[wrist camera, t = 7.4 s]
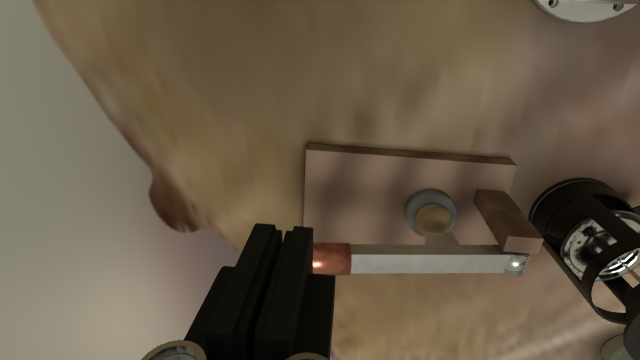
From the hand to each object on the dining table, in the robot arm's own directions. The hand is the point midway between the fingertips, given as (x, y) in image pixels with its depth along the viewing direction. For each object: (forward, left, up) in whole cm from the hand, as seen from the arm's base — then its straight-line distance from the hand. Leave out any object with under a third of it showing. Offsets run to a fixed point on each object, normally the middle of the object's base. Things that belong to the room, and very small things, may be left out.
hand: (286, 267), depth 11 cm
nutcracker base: (-9, +13, -30) cm, 34 cm away
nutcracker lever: (-7, +13, -22) cm, 26 cm away
